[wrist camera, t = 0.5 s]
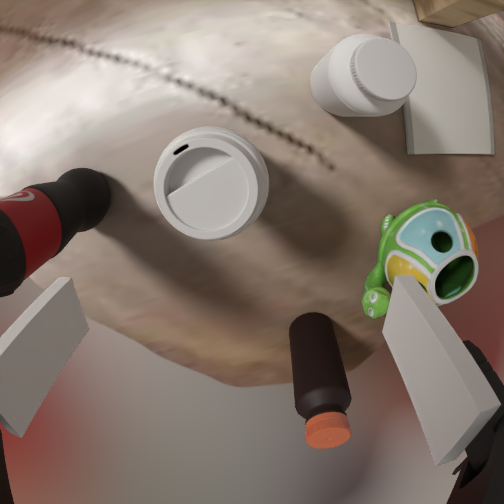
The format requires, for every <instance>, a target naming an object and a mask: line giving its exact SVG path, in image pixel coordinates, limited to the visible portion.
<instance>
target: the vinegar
mask: <svg viewBox="0 0 504 504" xmlns="http://www.w3.org/2000/svg"><path fill="white" fill-rule="evenodd" d="M289 337H290V348H291V360H292V372H293V384H294V397H295V408H296V410H297V412H298V414H299V415H301V416H302V417H303V418H305V419H307V420H306V423H305V432H306V442H307V444H308V445H310V446H311V447H313V448H320V449H325V448H332V447H336V446H338V445H341V444H342V443H344V442H346V441H347V440H348V439H349V437H350V436H351V431H350V425H349V422H348V417H347V415H346V413H345V411H346V409H347V408H348V407H349V405H350V402H351V394H350V390H349V386H348V382H347V378H346V374H345V370H344V366H343V362H342V359H341V355H340V351H339V347H338V344H337V340H336V337H335V333H334V329H333V326H332V322H331V321H330V320H329V318H328V317H326V316H325V315H323V314H320V313H306V314H303V315H301V316H299V317H298V318H296V319H295V320H294V321H293V322H292V324H291V326H290V329H289Z"/></svg>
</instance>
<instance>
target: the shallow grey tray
mask: <svg viewBox="0 0 504 504" xmlns="http://www.w3.org/2000/svg"><path fill="white" fill-rule="evenodd" d="M388 26H389V31H390V35H391V39H392V40H393V41H395V42H397V43H399V44H400V45H401V46H402V47H404V48H405V49H406V50H407V52H408V53H409V54H410V56H411V57H412V59H413V61H414V63H415V67H416V71H417V80H416V84H415V87H414V89H413V91H412V92H411V93H410V94H409V96H408V98H407V100H406V101H405V103H404V104H403V113H404V122H405V133H406V146H407V154H495V152H494V126H493V112H492V102H491V93H490V86H489V79H488V73H487V67H486V61H485V56H484V51H483V47H482V42H481V39H478V38H474V37H470V36H466V35H462V34H458V33H454V32H449V31H445V30H440V29H434V28H429V27H423V26H416V25H409V24H401V23H394V22H389V23H388Z"/></svg>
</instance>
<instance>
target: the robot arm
mask: <svg viewBox="0 0 504 504" xmlns="http://www.w3.org/2000/svg"><path fill="white" fill-rule="evenodd" d="M88 330H89V327H88V324H87V322H86V319H85V316H84V313H83V310H82V308H81V305H80V302H79V299H78V296H77V293H76V290H75V287H74V284H73V281H72V278H68V277H59V278H58V279H57V280H55V281H54V282H53V283H52V284H51V285H50V286H49V287H48V288H47V289H46V290H45V291H44V292H43V293H42V294H41V295H40V296H39V297H38V298H37V299H36V300H35V301H34V302H33V303H32V304H31V305H30V306H29V307H28V308H27V309H26V310H25V311H24V312H23V313H22V315H21V316H20V317H19V318H18V319H17V320H16V321H15V322H14V323H13V324H12V325H11V326H10V327H9V328H8V330H7V331H6V332H5V333H4V334H3V335H2V336H1V337H0V422H1V423H2V425H3V426H4V427H5V428H6V429H7V430H8V431H9V432H11V433H12V434H14V435H16V436H18V437H20V438H22V437H23V435H24V433H25V431H26V429H27V427H28V426H29V424H30V422H31V420H32V419H33V417H34V415H35V413H36V412H37V410H38V408H39V406H40V404H41V403H42V401H43V400H44V398H45V396H46V395H47V393H48V391H49V390H50V388H51V387H52V385H53V383H54V382H55V380H56V379H57V377H58V375H59V374H60V372H61V371H62V369H63V367H64V366H65V365H66V363H67V361H68V360H69V358H70V357H71V355H72V354H73V352H74V351H75V349H76V348H77V346H78V345H79V344H80V342H81V340H82V339H83V338H84V336H85V335H86V333H87V332H88ZM382 333H383V335H384V337H385V340H386V342H387V344H388V346H389V348H390V350H391V353H392V355H393V357H394V360H395V362H396V364H397V367H398V369H399V371H400V374H401V376H402V378H403V381H404V383H405V386H406V388H407V390H408V393H409V395H410V398H411V400H412V403H413V405H414V408H415V410H416V413H417V416H418V418H419V421H420V423H421V426H422V429H423V432H424V435H425V437H426V440H427V443H428V446H429V449H430V452H431V454H432V458H433V461H434V463H435V466H438V465H441V464H444V463H447V462H450V461H453V460H455V459H456V458H457V457H458V456H459V455H460V454H461V453H462V452H463V451H464V450H465V451H466V453H467V456H468V457H467V458H466V459H465V460H464V461H463V462H462V463H461V464H460V465H459V466H458V467H457V468H456V469H455V470H454V472H453V474H454V475H455V474H456V473H457V472H458V471H459V470H460V469H461V471H460V473H459V476H458V478H457V481H456V483H455V485H454V488H453V490H452V492H451V495H450V497H449V499H448V501H447V504H504V385H503V383H502V382H501V380H500V379H499V377H498V376H497V374H496V372H495V371H493V368H492V366H491V365H490V363H489V362H487V359H486V358H485V356H484V355H483V353H482V352H481V350H480V349H479V348H478V347H477V346H475V345H474V344H473V343H471V342H470V341H469V340H468V341H463V342H462V341H461V339H460V338H459V336H458V335H457V334H456V332H455V331H454V329H453V328H452V326H450V324H449V322H448V321H447V319H446V318H445V317H444V315H443V314H442V313H441V311H440V310H439V309H438V308H437V306H436V305H435V303H434V302H433V301H432V299H431V298H430V297H429V295H428V294H427V293H426V292H425V290H424V289H423V288H422V286H421V285H420V284H419V283H418V281H417V280H416V279H415V278H414V276H413V275H395V279H394V284H393V288H392V293H391V298H390V302H389V307H388V311H387V315H386V319H385V323H384V327H383V331H382ZM0 504H14V502H13V497H12V494H11V489H10V485H9V479H8V474H7V469H6V463H5V456H4V449H3V441H2V433H1V430H0Z"/></svg>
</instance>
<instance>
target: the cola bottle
mask: <svg viewBox="0 0 504 504" xmlns="http://www.w3.org/2000/svg"><path fill="white" fill-rule="evenodd" d="M109 205H110V190H109V186H108V184H107V182H106V180H105V179H104V178H103V176H102V175H101V174H99V173H98V172H96V171H94V170H92V169H88V168H76V169H72V170H70V171H68V172H66V173H64V174H63V175H62V176H61V177H60V178H59V179H58V180H57V181H56V182H49V183H42V184H36V185H31V186H28V187H26V188H24V189H22V190H21V191H19V192H17V193H15V194H12V195H10V196H8V197H6V198H3V199H1V200H0V297H4V296H8V295H11V294H13V293H14V291H15V290H16V289H17V288H18V287H19V286H20V285H21V283H22V282H23V281H24V280H25V279H26V278H27V277H29V276H30V275H31V274H32V273H33V272H35V271H36V270H37V269H38V268H39V267H41V266H42V265H43V264H44V263H46V262H47V261H48V260H49V259H51V258H53V257H55V256H56V255H57V254H59V253H60V252H61V251H62V250H63V248H64V247H65V246H66V245H67V244H68V242H69V241H70V240H71V239H72V238H73V237H74V236H75V234H76V233H77V232H83V231H87V230H90V229H92V228H93V227H95V226H96V225H97V224H99V223H100V222H101V220H102V219H103V218H104V216H105V215H106V213H107V211H108V209H109Z"/></svg>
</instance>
